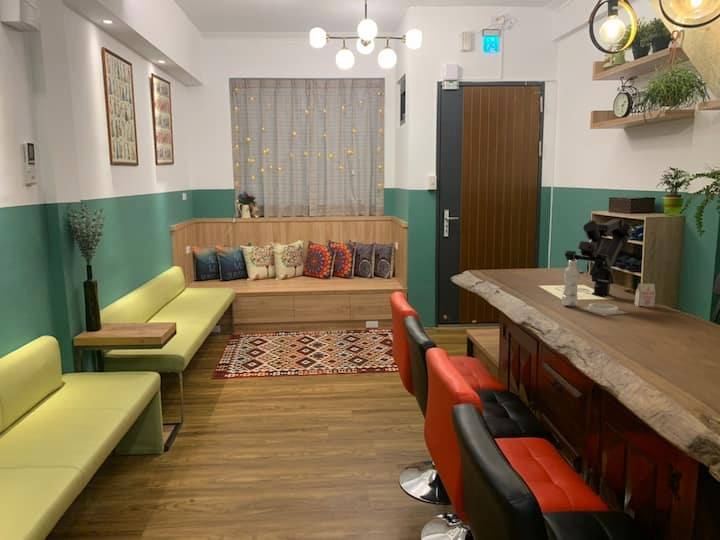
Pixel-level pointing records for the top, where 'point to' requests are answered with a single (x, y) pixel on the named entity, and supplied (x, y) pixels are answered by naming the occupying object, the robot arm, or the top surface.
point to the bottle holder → (603, 309)
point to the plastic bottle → (571, 284)
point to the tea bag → (645, 295)
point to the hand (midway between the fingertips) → (579, 273)
